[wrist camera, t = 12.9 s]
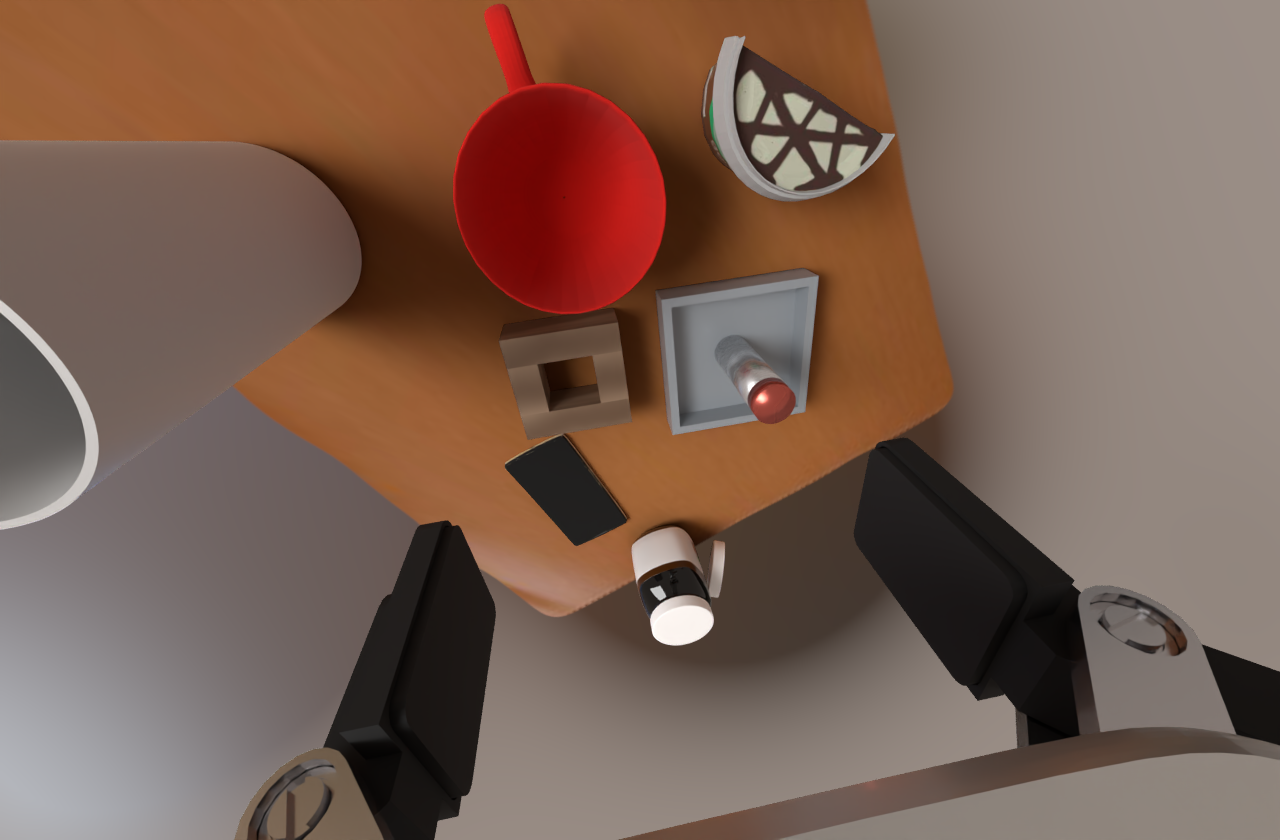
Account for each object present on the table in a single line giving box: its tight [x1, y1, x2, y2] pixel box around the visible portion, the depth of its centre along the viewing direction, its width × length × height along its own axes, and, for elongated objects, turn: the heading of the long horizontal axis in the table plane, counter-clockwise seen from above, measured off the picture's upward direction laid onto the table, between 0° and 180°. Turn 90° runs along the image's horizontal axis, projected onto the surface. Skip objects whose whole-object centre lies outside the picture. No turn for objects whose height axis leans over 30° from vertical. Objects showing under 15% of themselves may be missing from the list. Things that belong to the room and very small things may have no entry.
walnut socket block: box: [499, 308, 632, 440], centre depth 42 cm, size 10×10×4 cm
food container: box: [701, 36, 895, 201], centre depth 32 cm, size 12×6×10 cm, turn 66°
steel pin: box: [715, 335, 796, 424], centre depth 40 cm, size 3×3×11 cm
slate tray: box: [655, 268, 819, 435], centre depth 44 cm, size 14×14×3 cm
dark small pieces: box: [505, 434, 627, 546], centre depth 52 cm, size 7×1×15 cm
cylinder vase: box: [0, 141, 362, 529], centre depth 24 cm, size 12×12×25 cm
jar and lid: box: [632, 525, 725, 645], centre depth 54 cm, size 12×11×12 cm
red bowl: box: [453, 4, 667, 314], centre depth 31 cm, size 13×17×10 cm
